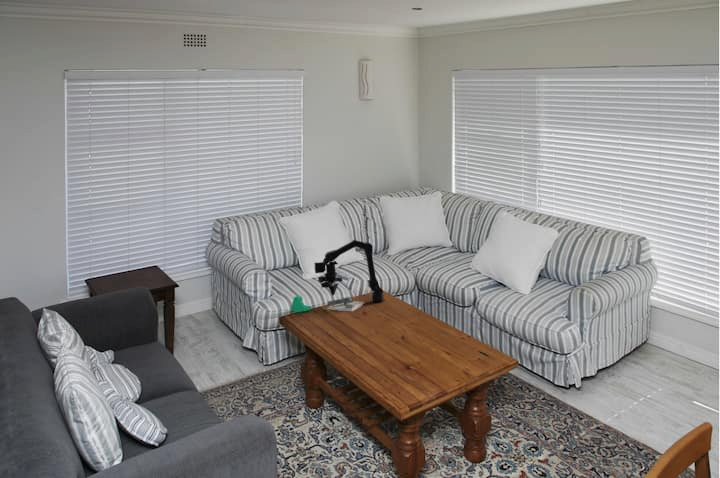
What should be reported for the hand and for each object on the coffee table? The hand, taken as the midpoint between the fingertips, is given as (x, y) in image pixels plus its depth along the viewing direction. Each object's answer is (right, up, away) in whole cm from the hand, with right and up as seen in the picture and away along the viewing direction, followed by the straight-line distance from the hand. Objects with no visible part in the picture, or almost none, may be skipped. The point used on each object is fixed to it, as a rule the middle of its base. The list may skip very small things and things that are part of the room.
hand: (333, 295), depth 390 cm
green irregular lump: (-20, -10, -1) cm, 23 cm away
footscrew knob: (+5, -6, -3) cm, 9 cm away
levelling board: (+8, -7, -2) cm, 11 cm away
